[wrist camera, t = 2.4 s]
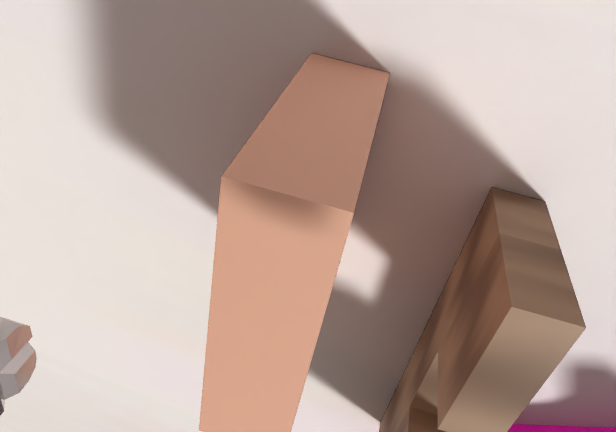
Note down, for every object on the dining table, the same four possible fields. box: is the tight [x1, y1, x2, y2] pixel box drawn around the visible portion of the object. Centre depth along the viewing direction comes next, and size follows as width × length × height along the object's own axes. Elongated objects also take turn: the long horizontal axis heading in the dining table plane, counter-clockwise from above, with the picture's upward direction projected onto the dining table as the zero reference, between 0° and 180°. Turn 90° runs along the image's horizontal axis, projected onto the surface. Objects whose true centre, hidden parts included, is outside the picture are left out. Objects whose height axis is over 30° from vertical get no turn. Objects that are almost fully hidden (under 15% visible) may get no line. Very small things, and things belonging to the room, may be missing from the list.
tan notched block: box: [199, 53, 390, 432], centre depth 21 cm, size 4×12×11 cm, turn 170°
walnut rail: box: [379, 187, 586, 432], centre depth 26 cm, size 20×2×8 cm, turn 170°
